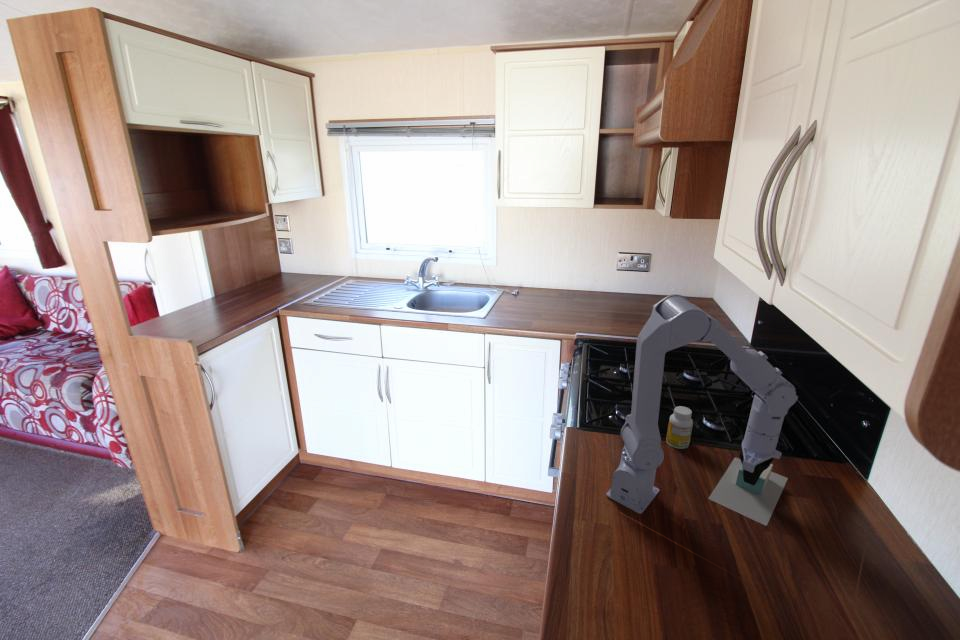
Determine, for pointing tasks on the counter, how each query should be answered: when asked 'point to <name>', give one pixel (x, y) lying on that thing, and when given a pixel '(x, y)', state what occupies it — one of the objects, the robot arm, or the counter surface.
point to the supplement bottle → (680, 428)
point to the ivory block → (760, 483)
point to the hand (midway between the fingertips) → (749, 482)
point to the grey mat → (748, 495)
